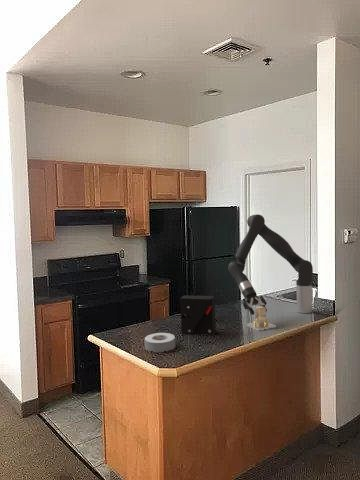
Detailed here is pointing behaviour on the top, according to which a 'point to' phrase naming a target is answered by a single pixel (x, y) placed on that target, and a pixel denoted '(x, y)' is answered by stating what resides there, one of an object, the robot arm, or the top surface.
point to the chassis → (257, 327)
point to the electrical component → (198, 315)
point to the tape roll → (160, 342)
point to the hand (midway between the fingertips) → (259, 313)
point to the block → (260, 315)
